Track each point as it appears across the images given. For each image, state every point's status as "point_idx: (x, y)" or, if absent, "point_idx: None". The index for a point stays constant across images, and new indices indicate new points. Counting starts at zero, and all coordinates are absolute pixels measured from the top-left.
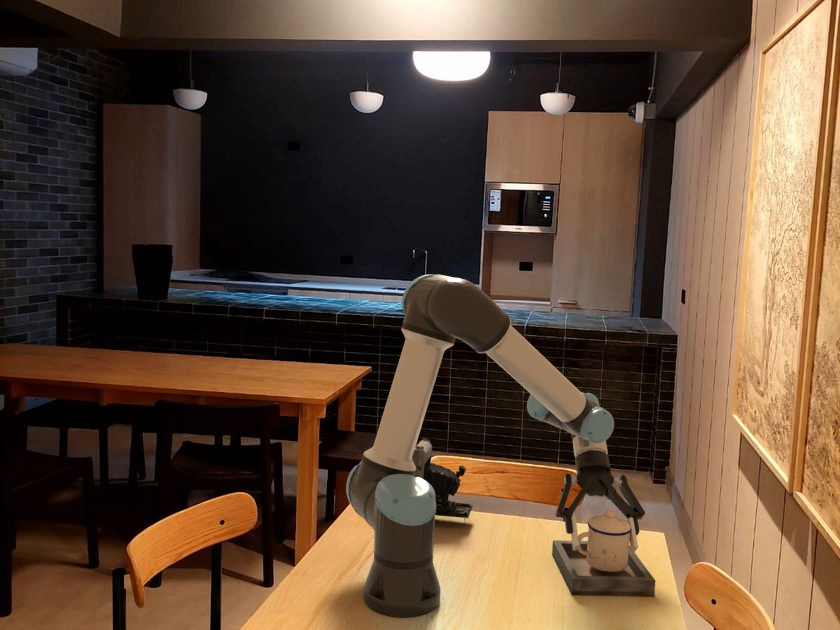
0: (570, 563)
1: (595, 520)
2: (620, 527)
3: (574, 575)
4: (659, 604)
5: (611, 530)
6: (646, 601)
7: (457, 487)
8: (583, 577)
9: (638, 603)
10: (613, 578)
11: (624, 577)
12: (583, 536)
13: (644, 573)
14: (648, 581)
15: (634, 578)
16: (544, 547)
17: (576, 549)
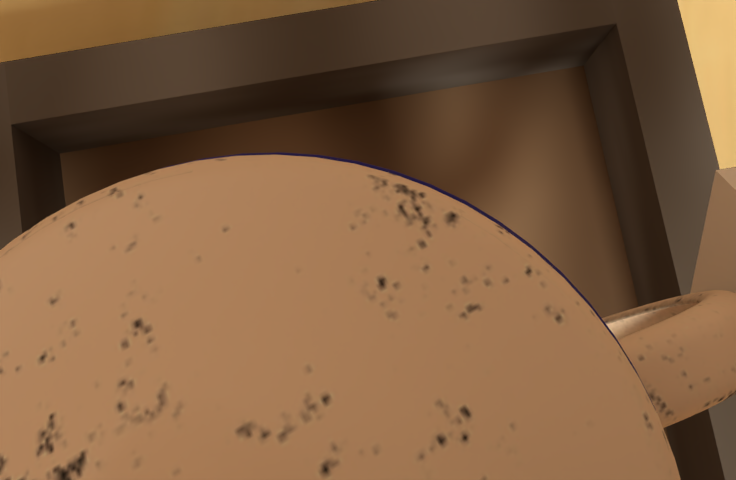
0: (685, 258)
1: None
2: (59, 299)
3: (649, 20)
4: (5, 21)
5: (270, 166)
6: (88, 45)
7: None
8: (571, 1)
9: (152, 5)
10: (309, 33)
11: (207, 76)
12: (699, 305)
13: (5, 197)
14: (6, 67)
15: (120, 74)
16: None
17: (700, 273)
